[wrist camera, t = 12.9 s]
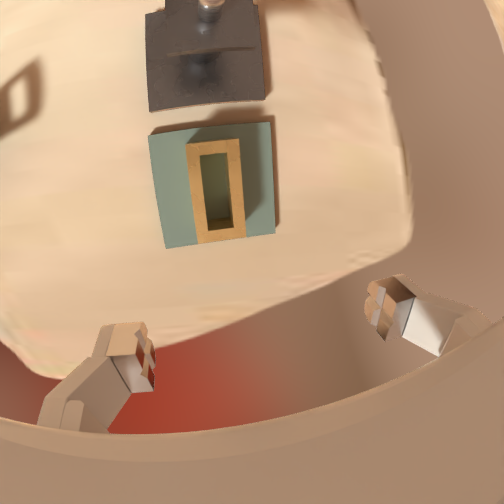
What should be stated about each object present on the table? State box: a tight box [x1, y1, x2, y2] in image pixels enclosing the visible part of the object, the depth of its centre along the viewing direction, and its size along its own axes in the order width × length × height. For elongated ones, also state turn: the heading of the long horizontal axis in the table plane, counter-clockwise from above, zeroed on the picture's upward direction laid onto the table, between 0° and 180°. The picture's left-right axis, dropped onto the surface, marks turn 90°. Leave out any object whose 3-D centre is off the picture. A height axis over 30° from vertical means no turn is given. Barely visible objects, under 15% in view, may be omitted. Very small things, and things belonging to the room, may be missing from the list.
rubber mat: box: [148, 122, 276, 249], centre depth 30 cm, size 13×13×1 cm
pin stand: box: [145, 0, 265, 113], centre depth 16 cm, size 12×12×16 cm
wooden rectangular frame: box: [185, 138, 246, 244], centre depth 28 cm, size 10×5×4 cm, turn 3°
